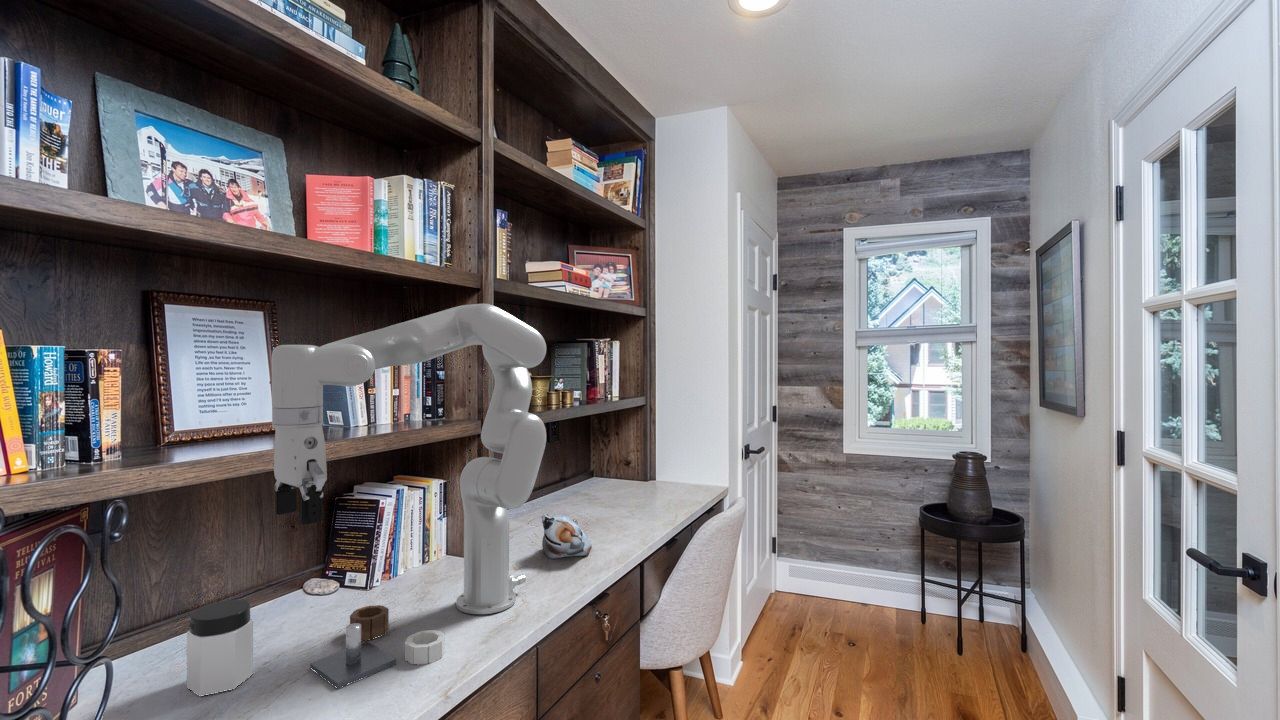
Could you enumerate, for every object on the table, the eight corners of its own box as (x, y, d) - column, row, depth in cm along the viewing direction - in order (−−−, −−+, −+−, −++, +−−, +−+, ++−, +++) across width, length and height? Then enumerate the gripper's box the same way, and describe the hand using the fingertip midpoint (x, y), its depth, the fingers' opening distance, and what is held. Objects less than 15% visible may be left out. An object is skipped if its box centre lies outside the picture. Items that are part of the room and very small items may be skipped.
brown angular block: (376, 622, 120) (377, 602, 120) (393, 631, 116) (393, 611, 116) (344, 634, 115) (344, 613, 115) (361, 644, 111) (361, 622, 111)
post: (367, 646, 110) (367, 608, 110) (395, 664, 104) (396, 624, 104) (310, 668, 102) (310, 628, 102) (337, 689, 96) (337, 646, 96)
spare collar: (430, 643, 112) (430, 627, 112) (451, 653, 108) (451, 637, 108) (398, 656, 107) (399, 639, 107) (418, 668, 103) (418, 650, 103)
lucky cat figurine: (601, 552, 164) (599, 514, 157) (570, 580, 156) (566, 541, 149) (563, 527, 172) (559, 490, 165) (531, 552, 164) (526, 515, 157)
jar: (215, 667, 103) (215, 598, 102) (262, 668, 102) (262, 598, 102) (174, 697, 94) (174, 621, 93) (226, 698, 94) (226, 621, 93)
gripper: (345, 419, 99) (345, 521, 99) (299, 412, 110) (299, 505, 110) (296, 423, 93) (297, 532, 93) (253, 415, 104) (253, 513, 104)
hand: (298, 517), depth 102 cm, fingers open, 9 cm apart
